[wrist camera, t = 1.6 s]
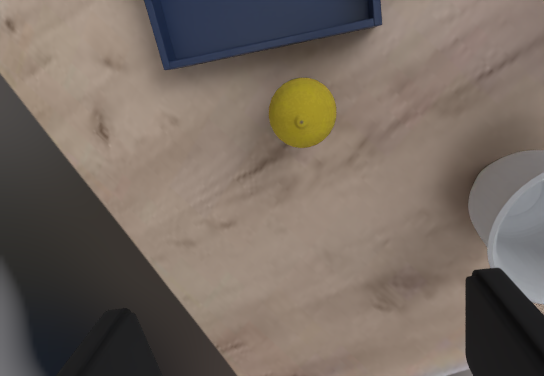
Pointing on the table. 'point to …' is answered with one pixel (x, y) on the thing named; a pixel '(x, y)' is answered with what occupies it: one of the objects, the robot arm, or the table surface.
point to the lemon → (302, 112)
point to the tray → (249, 25)
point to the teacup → (513, 218)
